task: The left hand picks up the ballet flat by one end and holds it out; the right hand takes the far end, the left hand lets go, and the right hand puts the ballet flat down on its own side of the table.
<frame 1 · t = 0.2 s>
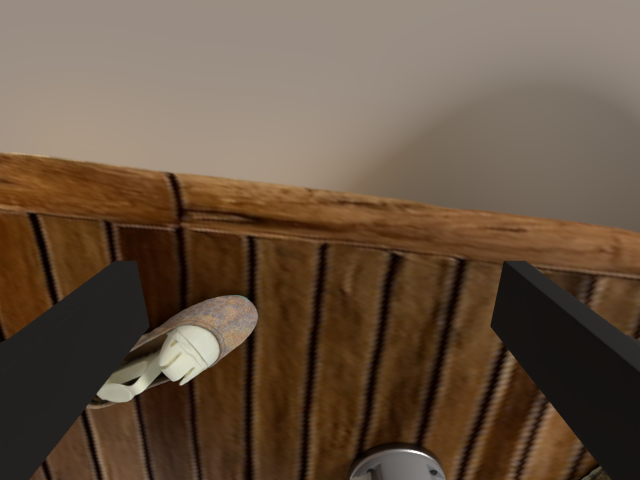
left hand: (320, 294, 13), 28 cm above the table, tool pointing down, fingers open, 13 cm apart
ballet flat: (179, 338, 46), on the table
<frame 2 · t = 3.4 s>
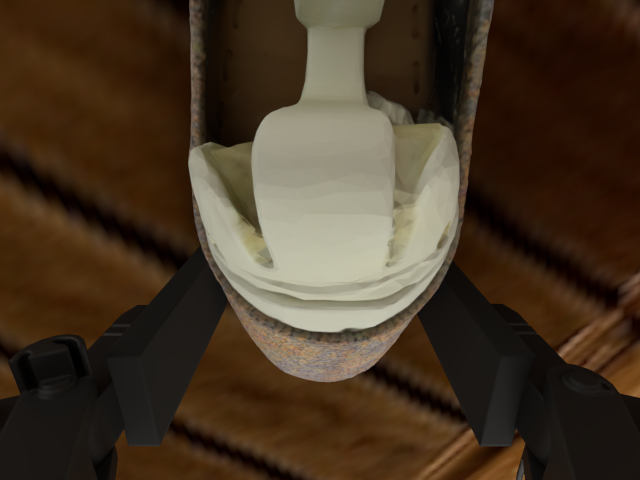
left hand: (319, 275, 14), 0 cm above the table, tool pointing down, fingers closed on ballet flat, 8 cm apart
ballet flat: (322, 58, 12), on the table, touching left hand
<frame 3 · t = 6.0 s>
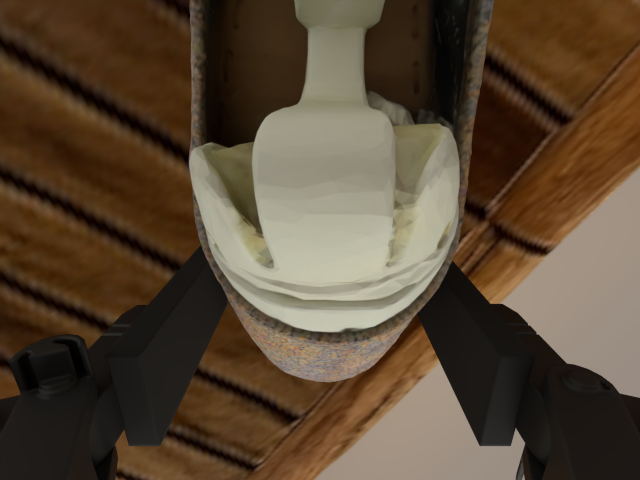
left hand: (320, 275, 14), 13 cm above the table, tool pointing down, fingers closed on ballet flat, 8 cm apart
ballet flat: (322, 58, 12), point 13 cm above the table, touching left hand
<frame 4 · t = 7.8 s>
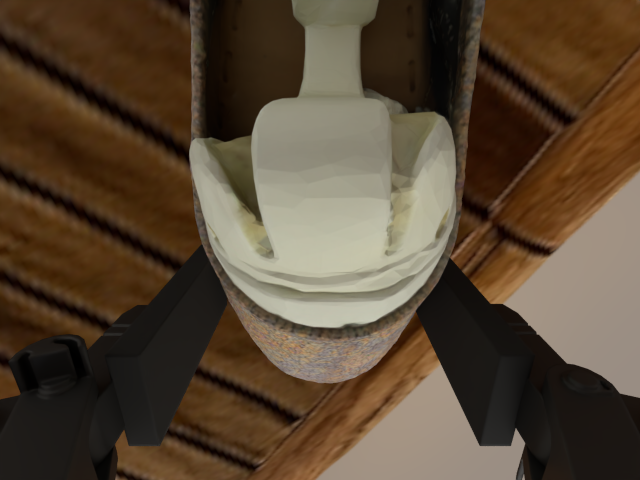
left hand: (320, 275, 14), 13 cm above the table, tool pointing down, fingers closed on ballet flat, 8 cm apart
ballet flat: (319, 60, 12), point 12 cm above the table, touching left hand, right hand
when the left hand's fingers open (13 cm above the table, at t = 8.8 s): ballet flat stays where it is, held by the right hand.
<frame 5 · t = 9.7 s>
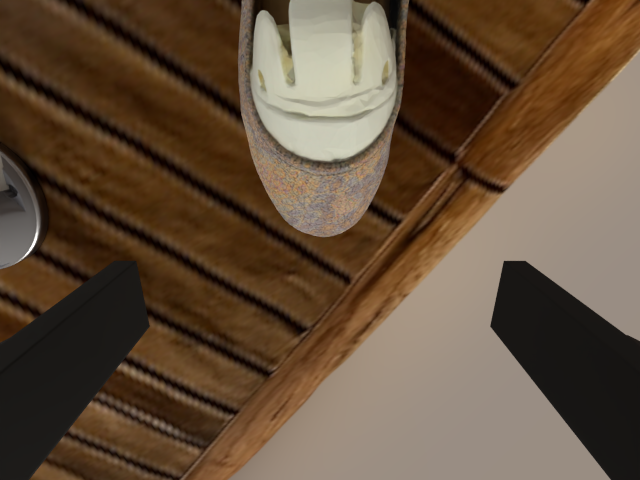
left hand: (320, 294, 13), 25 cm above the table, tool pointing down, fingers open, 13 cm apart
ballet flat: (320, 3, 18), point 15 cm above the table, touching right hand
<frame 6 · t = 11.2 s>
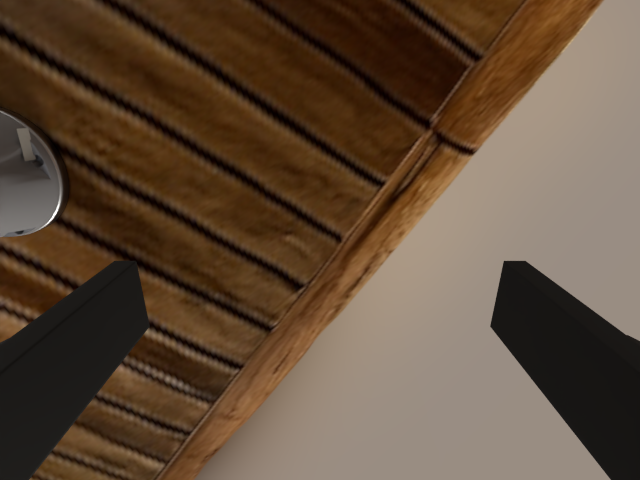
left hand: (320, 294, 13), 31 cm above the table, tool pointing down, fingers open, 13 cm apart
when the right hand's fingers open (5 cm above the table, at t = 15.0 s): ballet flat stays where it is, resting on anatomical model.
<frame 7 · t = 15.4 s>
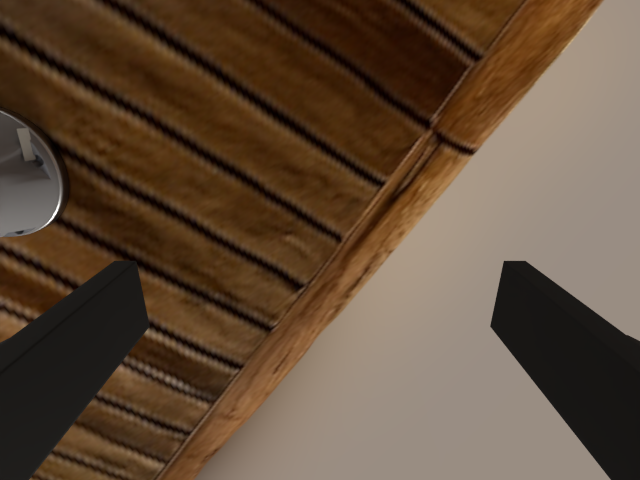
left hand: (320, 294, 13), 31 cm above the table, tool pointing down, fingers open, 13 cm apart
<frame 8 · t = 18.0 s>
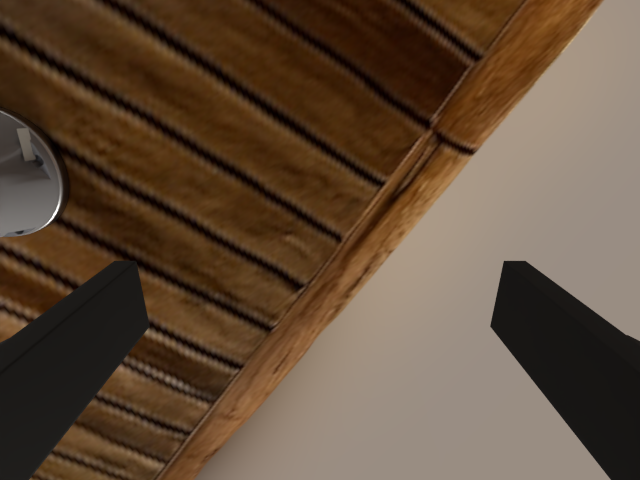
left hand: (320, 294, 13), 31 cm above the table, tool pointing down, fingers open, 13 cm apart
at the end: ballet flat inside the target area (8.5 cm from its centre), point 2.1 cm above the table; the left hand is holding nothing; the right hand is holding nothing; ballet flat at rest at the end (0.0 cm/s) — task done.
